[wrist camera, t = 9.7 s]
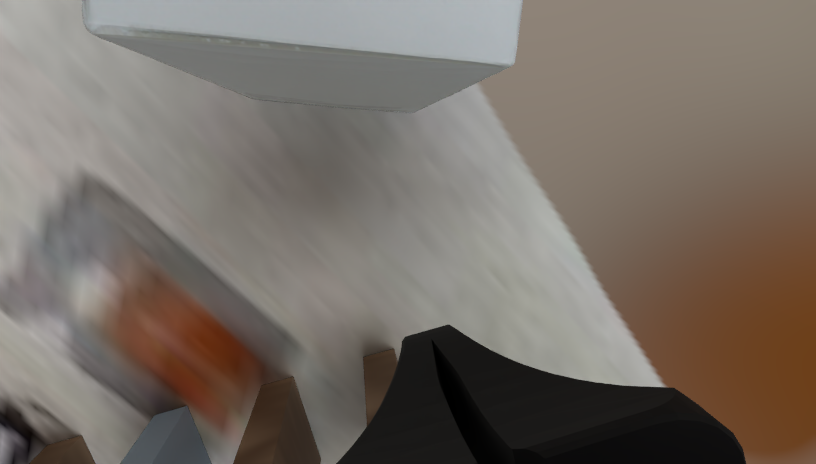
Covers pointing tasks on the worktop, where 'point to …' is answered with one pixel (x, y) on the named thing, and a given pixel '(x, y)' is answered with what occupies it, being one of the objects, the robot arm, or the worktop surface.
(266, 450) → the domino
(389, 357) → the domino
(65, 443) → the domino
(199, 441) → the domino
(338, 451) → the worktop surface
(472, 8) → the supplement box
